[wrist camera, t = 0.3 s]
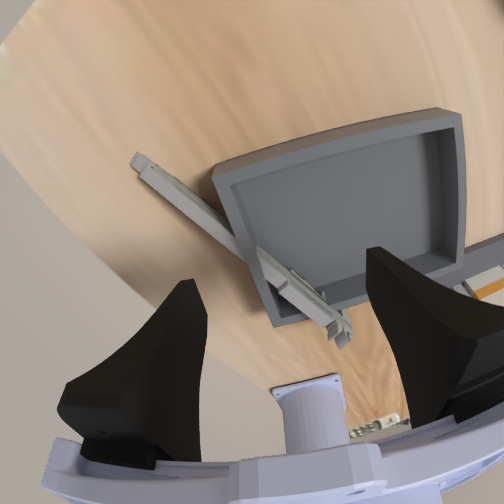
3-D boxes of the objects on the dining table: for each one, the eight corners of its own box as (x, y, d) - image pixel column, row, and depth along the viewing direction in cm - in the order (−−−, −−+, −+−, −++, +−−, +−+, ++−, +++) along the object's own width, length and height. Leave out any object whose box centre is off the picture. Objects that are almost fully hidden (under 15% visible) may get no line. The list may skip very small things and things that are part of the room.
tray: (445, 249, 23) (462, 267, 21) (271, 302, 26) (273, 328, 23) (437, 107, 17) (461, 114, 15) (216, 163, 20) (211, 177, 17)
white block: (494, 290, 25) (517, 319, 21) (460, 305, 26) (482, 338, 22) (499, 264, 24) (525, 293, 19) (464, 279, 24) (489, 313, 20)
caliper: (342, 295, 26) (362, 348, 21) (334, 302, 27) (351, 356, 21) (139, 149, 19) (100, 178, 14) (131, 162, 20) (92, 194, 14)
